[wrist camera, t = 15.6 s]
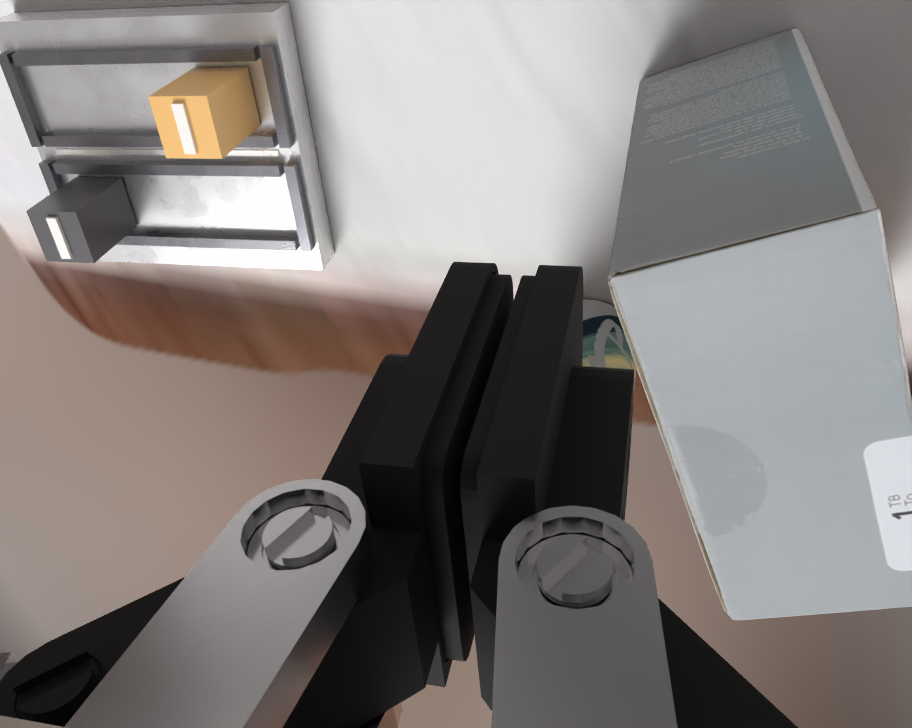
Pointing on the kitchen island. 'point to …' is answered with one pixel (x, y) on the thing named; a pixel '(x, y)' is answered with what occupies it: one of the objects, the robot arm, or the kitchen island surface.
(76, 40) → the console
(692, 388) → the hard drive box
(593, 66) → the kitchen island surface
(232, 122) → the fader
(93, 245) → the fader
